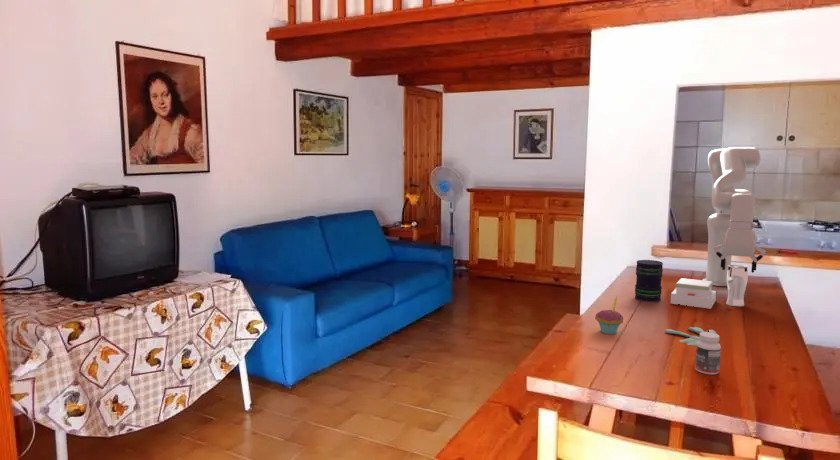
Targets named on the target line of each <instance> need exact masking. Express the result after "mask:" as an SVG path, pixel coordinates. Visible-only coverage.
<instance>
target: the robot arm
mask: <svg viewBox="0 0 840 460" xmlns="http://www.w3.org/2000/svg"><path fill="white" fill-rule="evenodd" d="M760 163H761V153H760V151H759V149H758V148H756V147H753V146H748V147H747V146H746V147H744V146H742V147H741V146H740V147H737V146H736V147H735V146H733V147H727V148H717V149H714V150H710V152H709V153H708V156H707V164H708V169H709V171H710V175H711V180H712V182H711V183H712V184H711V185H712V186H711V189H712V190H711V206H712V208H713V209H714V210H717V211H719V213H713V214H711V215H709V216H708V218H707V220H706V221H707V222H706V223H707V224H706V225H707V235H708V239H707V241H708V244H707V258H706V270H705V271H706V273H705V275H706V277H705V278H704V277H703V278H702V280H704V281H712V282H713V285H712V286H717V287H727V271H728V265H732V256H735V257H745V258H746V257H748V258H750V259H751V260H752V262H751V271H750V272H751V273H752V274H754V272H755V271H757V264H758V261H760V260H762V259H763V258H764V256H765V255H766V253H767V250H766V249H763V248H762V247H759V246H758V245H756V231H755V229H754V228H758V223H755V222H754V210H755V205H756V197H755V196H754V194H753V193H752V192H751V191H750V190H749V189H742V188H737V189H736V188H735V186H737V185H740V184H741V183H743V182H744V181H745V180H746V178H747V170H746V169H756V168H758V166H759V165H760ZM720 212H722V213H720ZM723 212H729V213H723ZM756 251H757V252H759V253H760V254H759V255H758V256H756V255H755V253H756Z"/></svg>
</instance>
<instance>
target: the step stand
mask: <svg viewBox="0 0 840 460" xmlns="http://www.w3.org/2000/svg"><path fill="white" fill-rule="evenodd" d="M713 286H714V285H713V282H712V281H704V280H701V279H692V278H685V277H684V278H682V277H681V278H680V279H679V280H678V281H677V282H676V283H675V288H674V289H673V291H671V293H670V304H672V305H678V304H680V306H686V305H687V307H693V306H694V307H695V308H701V309H702V308H704V309H709V310H711V309H712V308H713V306H714V304H715V303H716V298H717V297H716V296H717V291H716V290H712V287H713Z"/></svg>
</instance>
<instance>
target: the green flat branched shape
mask: <svg viewBox="0 0 840 460" xmlns="http://www.w3.org/2000/svg"><path fill="white" fill-rule="evenodd" d="M687 330H688V331H689V332H691V333H694V334H696V335H700V333H701V332H707V331H706V330H704V329H702V328H701V327H697V326H689V327H688V328H687ZM708 330H709V332H710V333H715V334H717V332H716V331H715V330H714V329H708ZM664 334H669V335H674V336H678V337H682V338H685V339H679V342H680V343H684V344H686V345H687V346H695V347H697V342H698V341H700V338H699V336H696V335H690V334H688V333H686V332H682V331H680V330H673V329H671V328H669V329H668V328H667V329H665V332H664ZM717 335H719V334H717ZM720 340H721V339H719V341H720Z"/></svg>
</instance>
